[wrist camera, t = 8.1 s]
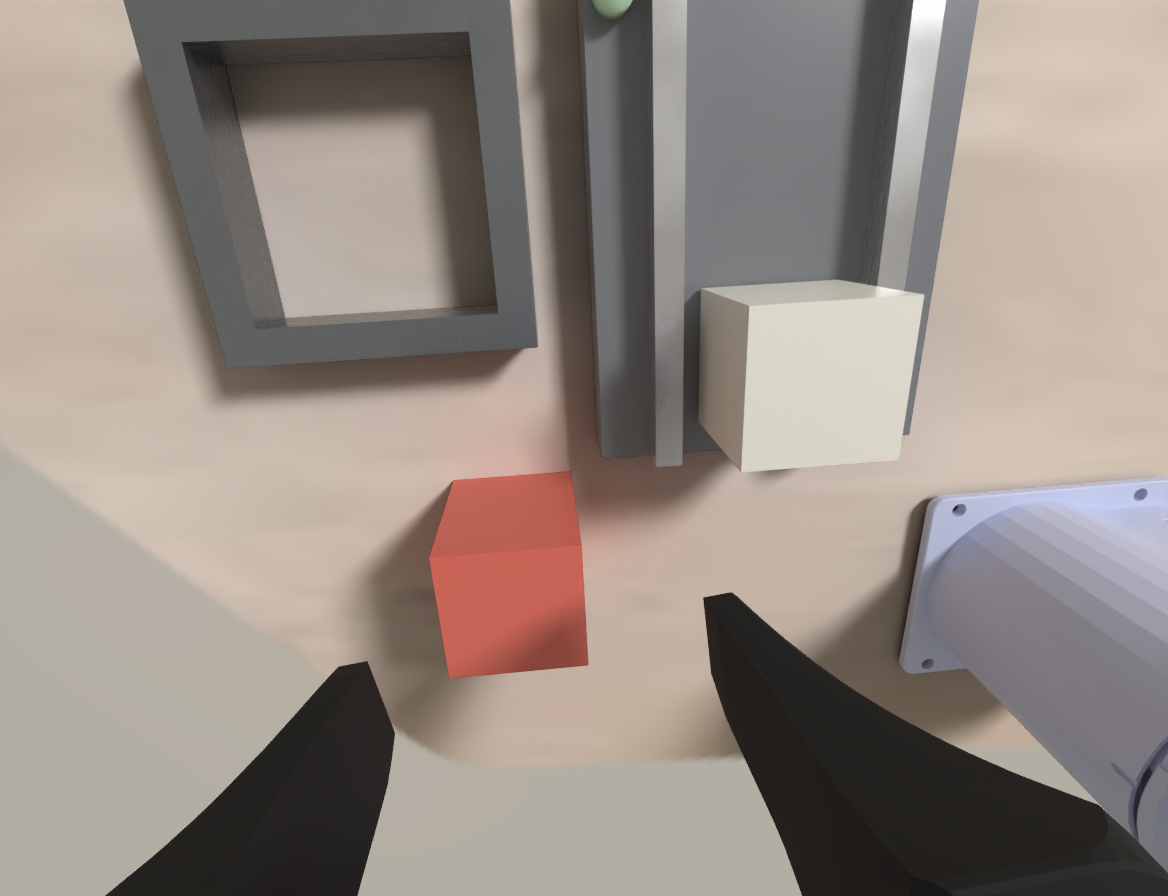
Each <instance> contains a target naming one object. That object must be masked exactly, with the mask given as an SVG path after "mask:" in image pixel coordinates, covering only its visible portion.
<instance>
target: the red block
mask: <svg viewBox="0 0 1168 896" xmlns="http://www.w3.org/2000/svg"><path fill="white" fill-rule="evenodd" d="M429 561H430V567H431V573H432V579H433V585H434V591H435V597H436V603H437V609H438V614H439V620H440V626H441V632H442V638H443V644H444V650H445V656H446V662H447V668H448V674H449V679H451V678H461V677H472V676H482V675H492V674H503V673H513V672H524V671H534V670H545V669H555V668H565V667H576V666H586V665H588V650H587V633H586V615H585V597H584V580H583V562H582V545H581V538H580V532H579V525H578V518H577V512H576V505H575V498H574V491H573V485H572V478H571V471H570V472H556V473H543V474H530V475H517V476H504V477H491V478H477V479H464V480H454V481H453V484H452V487H451V490H450V493H449V497H448V500H447V503H446V506H445V509H444V512H443V516H442V519H441V522H440V525H439V528H438V531H437V535H436V538H435V541H434V544H433V547H432V550H431V554H430V557H429Z"/></svg>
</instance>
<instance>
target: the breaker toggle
mask: <svg viewBox="0 0 1168 896" xmlns="http://www.w3.org/2000/svg"><path fill="white" fill-rule="evenodd" d="M923 301H924V294H918V293H913V292H907V291H901V290H895V289H889V288H884V287H878V286H872V285H866V284H860V283H855V282H849V281H843V280H822V281H806V282H790V283H774V284H758V285H742V286H726V287H711V288H701V301H700V352H699V402H698V422H699V423H700V424H701V425H702V427H703V428H704V429H705V430H706V431H707V433H708V434H709V435H710V436H711V437H712V438H713V440H714V441H715V442H716V443H717V444H718V446H719V447H720V448H721V449H722V450H723V452H724V453H725V454H726V455H727V456H728V457H729V459H730V460H731V461H732V462H733V463H734V465H735V466H736V467H737V468H738V469H739V471H740V472H753V471H765V470H777V469H790V468H802V467H814V466H827V465H839V464H851V463H863V462H876V461H888V460H899V454H900V448H901V442H902V435H903V429H904V422H905V416H906V410H907V403H908V397H909V390H910V384H911V378H912V371H913V365H914V358H915V352H916V346H917V339H918V333H919V326H920V320H921V313H922V307H923Z"/></svg>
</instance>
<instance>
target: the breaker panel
mask: <svg viewBox="0 0 1168 896" xmlns="http://www.w3.org/2000/svg"><path fill="white" fill-rule="evenodd" d="M978 2H979V0H577V4H578V25H579V47H580V68H581V90H582V111H583V133H584V154H585V175H586V197H587V218H588V240H589V261H590V282H591V304H592V325H593V347H594V368H595V390H596V411H597V432H598V444H599V448H600V451H601V454H602V458H603V459H608V458H621V457H634V456H646V455H650V456H651V458H652V460H653V462H654V464H655V466H656V467H668V466H681V465H682V458H683V453H684V452H697V451H710V450H722V449H721V448H720V447H719V446H718V444H717V443H716V442H715V441H714V440H713V438H712V437H711V436H710V435H709V434H708V433H707V431H706V430H705V429H704V428H703V427H702V425H701V424H700V423H699V422H698V402H699V352H700V301H701V288H711V287H726V286H742V285H758V284H774V283H790V282H806V281H822V280H843V281H849V282H855V283H860V284H866V285H872V286H878V287H884V288H889V289H895V290H901V291H907V292H913V293H918V294H924V301H923V307H922V313H921V320H920V326H919V333H918V339H917V346H916V352H915V358H914V365H913V371H912V378H911V384H910V390H909V397H908V403H907V410H906V416H905V422H904V429H903V435H909V432H910V426H911V420H912V414H913V407H914V401H915V395H916V389H917V382H918V376H919V370H920V364H921V358H922V351H923V345H924V339H925V333H926V326H927V320H928V314H929V308H930V301H931V295H932V289H933V283H934V276H935V270H936V264H937V258H938V252H939V245H940V239H941V233H942V227H943V220H944V214H945V208H946V202H947V195H948V189H949V183H950V177H951V170H952V164H953V158H954V152H955V146H956V139H957V133H958V127H959V121H960V114H961V108H962V102H963V96H964V89H965V83H966V77H967V71H968V65H969V58H970V52H971V46H972V40H973V33H974V27H975V21H976V15H977V8H978Z"/></svg>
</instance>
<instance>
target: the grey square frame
mask: <svg viewBox="0 0 1168 896" xmlns="http://www.w3.org/2000/svg"><path fill="white" fill-rule="evenodd" d="M124 4H125V7H126V11H127V14H128V18H129V22H130V25H131V29H132V32H133V36H134V39H135V43H136V47H137V50H138V54H139V57H140V61H141V64H142V68H143V71H144V75H145V79H146V82H147V86H148V89H149V93H150V96H151V100H152V104H153V107H154V111H155V114H156V118H157V121H158V125H159V128H160V132H161V136H162V139H163V143H164V146H165V150H166V153H167V157H168V160H169V164H170V168H171V171H172V175H173V178H174V182H175V185H176V189H177V193H178V196H179V200H180V203H181V207H182V210H183V214H184V217H185V221H186V225H187V228H188V232H189V235H190V239H191V242H192V246H193V250H194V253H195V257H196V260H197V264H198V267H199V271H200V274H201V278H202V282H203V285H204V289H205V292H206V296H207V299H208V303H209V307H210V310H211V314H212V317H213V321H214V324H215V328H216V331H217V335H218V339H219V342H220V346H221V349H222V353H223V356H224V360H225V364H226V367H227V368H241V367H255V366H270V365H285V364H300V363H314V362H329V361H344V360H359V359H373V358H388V357H403V356H418V355H432V354H447V353H462V352H477V351H491V350H506V349H521V348H536V347H538V342H537V325H536V312H535V300H534V288H533V276H532V263H531V251H530V239H529V226H528V214H527V202H526V190H525V177H524V165H523V153H522V140H521V128H520V116H519V104H518V91H517V79H516V67H515V54H514V42H513V30H512V18H511V6H510V0H124ZM469 55H471V57H472V67H473V77H474V86H475V96H476V105H477V115H478V124H479V134H480V144H481V153H482V163H483V172H484V182H485V192H486V201H487V211H488V220H489V230H490V239H491V249H492V259H493V268H494V278H495V287H496V297H497V305H487V306H471V307H455V308H440V309H424V310H408V311H392V312H377V313H361V314H345V315H329V316H314V317H298V318H285V316H284V312H283V308H282V303H281V299H280V295H279V291H278V286H277V282H276V278H275V274H274V269H273V265H272V261H271V257H270V253H269V248H268V244H267V240H266V236H265V231H264V227H263V223H262V219H261V214H260V210H259V206H258V202H257V197H256V193H255V189H254V185H253V181H252V176H251V172H250V168H249V164H248V159H247V155H246V151H245V147H244V142H243V138H242V134H241V130H240V126H239V121H238V117H237V113H236V109H235V104H234V100H233V96H232V92H231V87H230V83H229V79H228V75H227V70H226V66H225V65H241V64H266V63H292V62H317V61H342V60H368V59H393V58H418V57H443V56H469Z"/></svg>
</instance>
